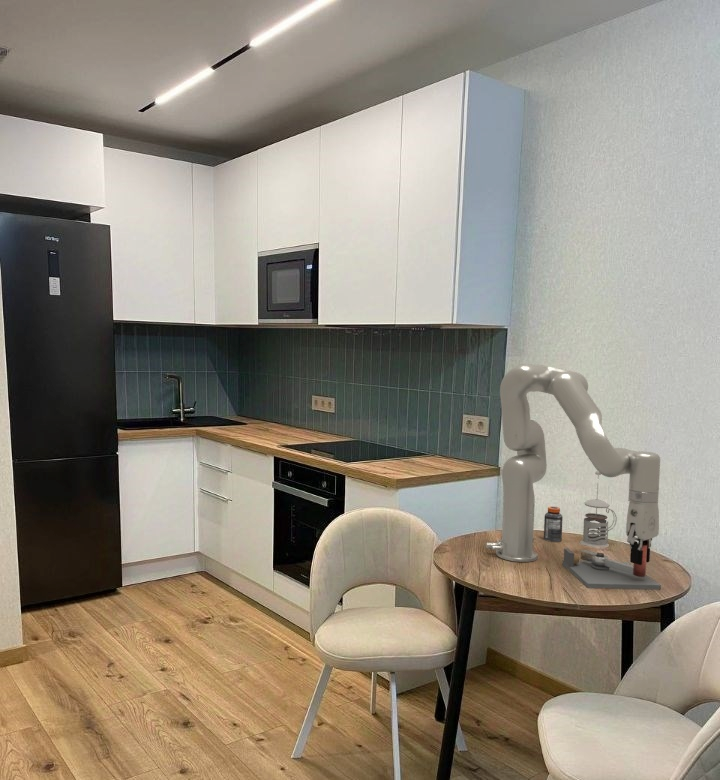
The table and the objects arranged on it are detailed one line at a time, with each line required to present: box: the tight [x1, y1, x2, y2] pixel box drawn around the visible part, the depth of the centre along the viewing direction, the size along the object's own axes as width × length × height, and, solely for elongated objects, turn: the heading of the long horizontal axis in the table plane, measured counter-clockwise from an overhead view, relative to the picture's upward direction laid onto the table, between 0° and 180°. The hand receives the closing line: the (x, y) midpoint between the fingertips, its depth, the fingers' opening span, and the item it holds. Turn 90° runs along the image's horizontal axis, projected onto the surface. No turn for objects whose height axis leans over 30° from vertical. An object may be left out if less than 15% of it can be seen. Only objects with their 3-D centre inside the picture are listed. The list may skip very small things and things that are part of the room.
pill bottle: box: [543, 506, 563, 543], centre depth 219 cm, size 6×6×11 cm
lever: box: [580, 544, 647, 577], centre depth 183 cm, size 4×19×9 cm, turn 37°
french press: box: [579, 470, 618, 548], centre depth 215 cm, size 10×12×25 cm
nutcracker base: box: [562, 547, 662, 590], centre depth 182 cm, size 20×20×5 cm
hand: (639, 561), depth 176 cm, fingers closed on lever, 3 cm apart
